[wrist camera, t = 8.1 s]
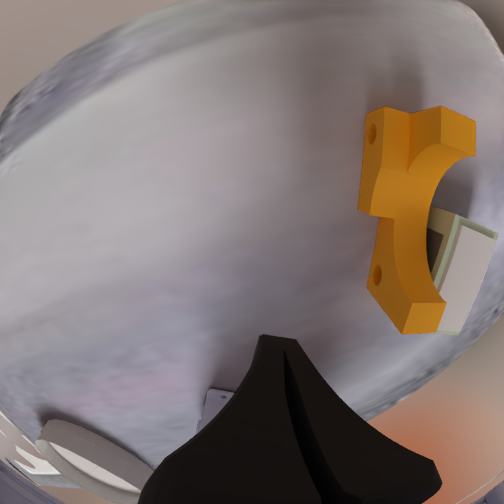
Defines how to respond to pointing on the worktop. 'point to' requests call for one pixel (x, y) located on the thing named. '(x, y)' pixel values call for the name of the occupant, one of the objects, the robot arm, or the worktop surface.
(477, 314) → the worktop surface
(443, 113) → the pipe clamp
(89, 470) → the dish
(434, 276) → the pale green block
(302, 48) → the worktop surface
